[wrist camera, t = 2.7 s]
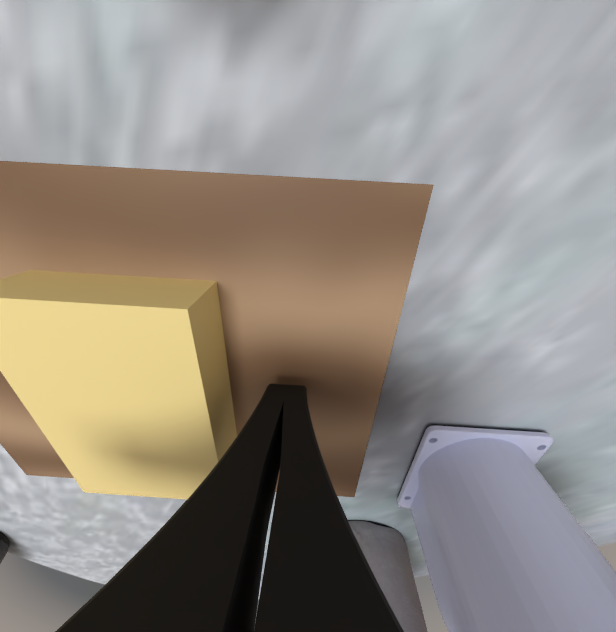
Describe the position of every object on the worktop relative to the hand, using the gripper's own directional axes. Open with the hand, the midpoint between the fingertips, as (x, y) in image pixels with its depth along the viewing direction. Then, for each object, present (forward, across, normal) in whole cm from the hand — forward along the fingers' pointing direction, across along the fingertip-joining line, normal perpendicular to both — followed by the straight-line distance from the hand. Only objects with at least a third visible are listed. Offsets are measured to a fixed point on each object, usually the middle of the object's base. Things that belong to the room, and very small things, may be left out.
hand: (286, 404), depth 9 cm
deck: (+5, +5, 0) cm, 7 cm away
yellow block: (+1, +5, 0) cm, 5 cm away
